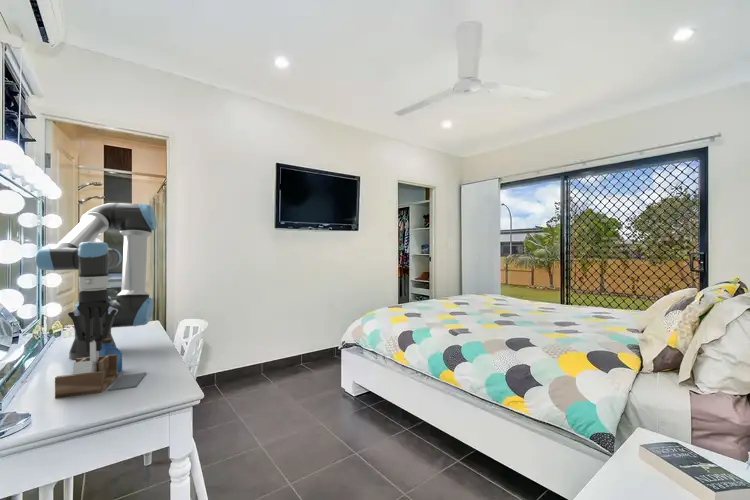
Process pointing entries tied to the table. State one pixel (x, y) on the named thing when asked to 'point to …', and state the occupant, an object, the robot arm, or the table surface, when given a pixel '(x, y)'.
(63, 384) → the pocket jig
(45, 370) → the table surface
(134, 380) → the slate pad
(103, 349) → the perfume bottle
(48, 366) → the table surface
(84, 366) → the bar
